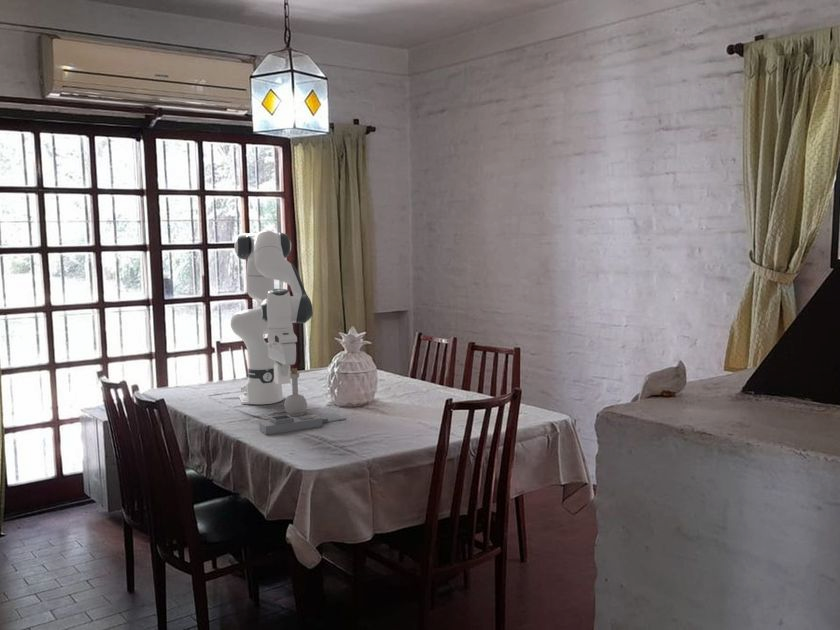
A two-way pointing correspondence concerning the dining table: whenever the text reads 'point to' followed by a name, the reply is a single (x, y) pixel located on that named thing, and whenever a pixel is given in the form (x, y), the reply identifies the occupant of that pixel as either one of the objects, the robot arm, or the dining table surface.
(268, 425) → the power strip
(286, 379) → the block
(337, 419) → the mat
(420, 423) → the dining table surface
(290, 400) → the potion bottle
